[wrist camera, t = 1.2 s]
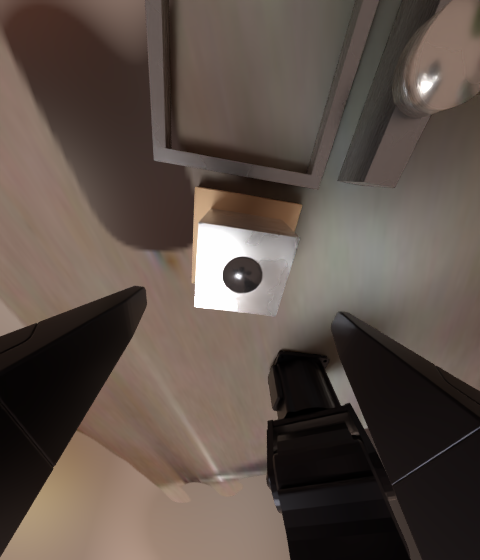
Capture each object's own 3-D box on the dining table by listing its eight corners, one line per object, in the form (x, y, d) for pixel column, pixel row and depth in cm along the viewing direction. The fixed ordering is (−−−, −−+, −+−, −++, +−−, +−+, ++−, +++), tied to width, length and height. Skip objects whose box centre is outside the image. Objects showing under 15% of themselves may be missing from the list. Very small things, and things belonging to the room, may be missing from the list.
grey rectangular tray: (476, -50, 9) (682, -246, 5) (366, 198, 15) (419, 207, 11) (147, -150, 8) (40, -529, 4) (160, 161, 14) (123, 154, 9)
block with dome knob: (281, 219, 15) (300, 238, 10) (266, 280, 17) (275, 317, 13) (211, 208, 14) (198, 222, 10) (206, 272, 17) (194, 307, 12)
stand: (298, 203, 15) (302, 205, 14) (274, 287, 19) (276, 293, 18) (198, 186, 14) (194, 187, 13) (194, 276, 18) (191, 282, 17)
